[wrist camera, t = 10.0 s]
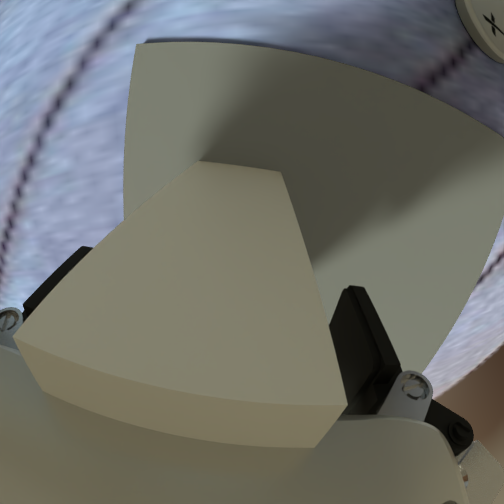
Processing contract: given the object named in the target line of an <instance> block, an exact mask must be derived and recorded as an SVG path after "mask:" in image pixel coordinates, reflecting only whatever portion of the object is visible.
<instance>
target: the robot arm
mask: <svg viewBox="0 0 504 504" xmlns="http://www.w3.org/2000/svg"><path fill="white" fill-rule="evenodd" d="M92 249H93V248H92V247H86V246H82V247H80V248H79V249H78V250H77V251H76V252H75V253H74V254H73V255H71V256H70V257H69V258H68V259H67V260H66V261H65V262H64V263H63V264H62V265H61V266H60V267H59V268H58V269H57V270H56V271H55V272H54V273H53V274H52V275H51V276H50V277H49V278H48V279H47V280H46V281H45V282H44V283H43V284H42V285H41V286H40V287H39V288H38V289H37V290H36V291H35V292H34V293H33V294H32V295H31V296H30V297H29V298H28V299H27V300H26V301H25V302H24V304H23V307H24V312H23V313H22V312H21V311H20V310H19V309H17V308H14V307H9V308H4V309H2V310H0V504H492V502H493V501H494V499H495V498H496V496H497V494H498V493H499V491H500V489H501V487H502V486H503V483H504V469H503V468H502V466H501V465H500V464H499V463H498V462H497V461H496V459H495V458H494V457H493V456H492V455H491V454H490V453H489V452H488V451H487V450H486V449H485V448H484V447H483V445H482V444H481V443H480V442H479V441H478V440H477V441H475V442H474V441H473V436H474V434H473V430H472V427H471V425H470V424H469V423H468V421H466V420H465V419H464V418H462V417H460V416H459V415H457V414H456V413H454V412H452V411H451V410H449V409H447V408H446V407H444V406H443V405H441V404H439V403H438V402H436V401H435V400H433V399H432V396H433V389H432V385H431V383H430V382H429V380H428V379H427V378H426V377H425V376H424V375H422V374H421V373H418V372H416V371H411V370H408V371H404V372H403V371H402V368H401V366H400V365H401V364H400V361H399V359H398V357H397V354H396V352H395V350H394V348H393V345H392V343H391V341H390V339H389V337H388V334H387V332H386V330H385V328H384V326H383V324H382V322H381V320H380V318H379V315H378V313H377V311H376V309H375V307H374V305H373V303H372V301H371V299H370V297H369V295H368V293H367V291H366V289H365V288H364V287H362V286H354V285H349V286H348V287H347V288H344V289H343V290H342V293H341V295H340V298H339V301H338V303H337V306H336V309H335V311H334V314H333V317H332V319H331V322H330V324H329V330H330V333H331V337H332V341H333V345H334V349H335V353H336V357H337V361H338V365H339V369H340V373H341V377H342V382H343V386H344V390H345V395H346V399H347V403H348V405H347V407H346V408H345V410H344V411H343V412H342V414H341V415H340V416H339V418H338V419H337V420H336V422H335V423H334V424H333V425H332V427H331V428H330V429H329V431H328V432H327V433H326V434H325V435H324V437H323V438H322V439H321V440H320V442H319V443H318V444H317V445H316V446H315V448H280V447H259V446H246V445H236V444H227V443H219V442H212V441H205V440H199V439H193V438H188V437H182V436H177V435H173V434H168V433H163V432H159V431H155V430H151V429H147V428H143V427H139V426H136V425H132V424H128V423H125V422H122V421H118V420H115V419H112V418H109V417H106V416H103V415H100V414H97V413H94V412H91V411H89V410H86V409H83V408H81V407H78V406H76V405H73V404H71V403H68V402H66V401H64V400H61V399H59V398H57V397H54V396H52V395H50V394H48V393H46V392H44V391H42V389H41V388H40V386H39V385H38V383H37V381H36V380H35V378H34V376H33V375H32V373H31V371H30V369H29V368H28V366H27V364H26V362H25V360H24V358H23V356H22V355H21V353H20V351H19V349H18V347H17V345H16V343H15V341H14V339H13V335H14V334H15V333H16V332H17V330H18V329H19V328H20V327H21V325H22V324H23V323H24V322H25V320H26V319H27V318H28V317H29V316H30V315H31V313H32V312H33V311H34V310H35V309H36V308H37V306H38V305H39V304H40V303H41V302H42V301H43V300H44V298H45V297H46V296H47V295H48V294H49V293H50V292H51V291H52V290H53V289H54V288H55V286H56V285H57V284H58V283H59V282H60V281H61V280H62V279H63V278H64V277H65V276H66V275H67V274H68V273H69V272H70V271H71V270H72V269H73V268H74V267H75V266H76V265H77V264H78V263H79V262H80V261H81V260H82V259H83V258H84V257H85V256H86V255H87V254H88V253H89V252H90V251H91V250H92Z"/></svg>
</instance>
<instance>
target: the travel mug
mask: <svg viewBox="0 0 504 504" xmlns="http://www.w3.org/2000/svg"><path fill="white" fill-rule="evenodd" d="M455 2H456V7H457V10H458V13H459V16H460V18H461V20H462V22H463V24H464V26H465V28H466V30H467V31H468V33H469V34H470V36H471V37H472V39H473V40H474V41H475V43H476V44H477V45H478V46H479V47H480V49H481V50H482V51H483V52H484V53H486V54H487V55H488V56H489V57H490V58H492V59H493V60H495V61H497V62H499V63H502V64H504V0H455Z"/></svg>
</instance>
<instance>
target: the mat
mask: <svg viewBox="0 0 504 504" xmlns="http://www.w3.org/2000/svg"><path fill="white" fill-rule="evenodd" d="M197 161H205V162H214V163H223V164H231V165H238V166H246V167H253V168H259V169H266V170H272V171H278V172H281V174H282V177H283V180H284V183H285V185H286V188H287V191H288V194H289V197H290V200H291V203H292V206H293V209H294V212H295V215H296V218H297V221H298V224H299V227H300V231H301V234H302V237H303V240H304V243H305V246H306V250H307V253H308V256H309V259H310V263H311V266H312V269H313V273H314V276H315V279H316V283H317V286H318V290H319V293H320V297H321V300H322V304H323V307H324V311H325V315H326V318H327V322H328V326H329V324H330V322H331V319H332V317H333V314H334V311H335V309H336V306H337V303H338V301H339V298H340V295H341V293H342V290H343V289H344V288H347V287H348V286H349V285H354V286H362V287H364V288H365V289H366V291H367V293H368V295H369V297H370V299H371V301H372V303H373V305H374V307H375V309H376V311H377V313H378V315H379V318H380V320H381V322H382V324H383V326H384V328H385V330H386V332H387V334H388V337H389V339H390V341H391V343H392V345H393V348H394V350H395V352H396V354H397V357H398V359H399V361H400V364H401V365H400V366H401V368H402V371H403V372H404V371H408V370H411V371H416V372H418V373H421V374H422V372H423V371H424V370H425V368H426V367H427V365H428V364H429V363H430V361H431V360H432V358H433V357H434V355H435V354H436V352H437V351H438V349H439V348H440V346H441V345H442V343H443V342H444V340H445V339H446V337H447V335H448V334H449V332H450V331H451V329H452V327H453V326H454V324H455V322H456V320H457V319H458V317H459V315H460V314H461V312H462V310H463V308H464V306H465V304H466V303H467V301H468V299H469V297H470V295H471V293H472V291H473V289H474V287H475V285H476V283H477V281H478V279H479V277H480V274H481V272H482V270H483V268H484V266H485V263H486V261H487V259H488V256H489V254H490V251H491V249H492V246H493V244H494V241H495V239H496V236H497V233H498V231H499V228H500V225H501V222H502V219H503V216H504V138H503V137H502V136H500V135H499V134H498V133H496V132H494V131H493V130H491V129H490V128H488V127H487V126H485V125H484V124H482V123H480V122H479V121H477V120H475V119H474V118H472V117H470V116H468V115H467V114H465V113H463V112H461V111H460V110H458V109H456V108H454V107H452V106H450V105H448V104H446V103H444V102H442V101H440V100H438V99H436V98H434V97H432V96H430V95H428V94H426V93H423V92H421V91H419V90H417V89H414V88H412V87H410V86H407V85H405V84H402V83H400V82H397V81H395V80H392V79H389V78H387V77H384V76H381V75H378V74H376V73H373V72H370V71H367V70H364V69H360V68H357V67H354V66H351V65H347V64H344V63H340V62H336V61H332V60H328V59H324V58H320V57H316V56H312V55H307V54H302V53H297V52H292V51H286V50H280V49H274V48H267V47H260V46H251V45H242V44H230V43H214V42H160V43H144V44H136V49H135V55H134V61H133V67H132V74H131V81H130V89H129V97H128V107H127V117H126V130H125V147H124V180H123V198H124V220H125V219H126V218H127V217H128V216H129V215H131V214H132V213H133V212H134V211H135V210H136V209H138V208H139V207H140V206H141V205H142V204H144V203H145V202H146V201H147V200H148V199H150V198H151V197H152V196H153V195H154V194H156V193H157V192H158V191H159V190H161V189H162V188H163V187H164V186H166V185H167V184H168V183H170V182H171V181H172V180H173V179H175V178H176V177H177V176H179V175H180V174H181V173H183V172H184V171H185V170H187V169H188V168H189V167H191V166H192V165H193V164H195V163H196V162H197Z"/></svg>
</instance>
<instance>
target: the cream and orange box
mask: <svg viewBox="0 0 504 504" xmlns="http://www.w3.org/2000/svg"><path fill="white" fill-rule="evenodd" d="M13 339H14V341H15V343H16V345H17V347H18V349H19V351H20V353H21V355H22V356H23V358H24V360H25V362H26V364H27V366H28V368H29V369H30V371H31V373H32V375H33V376H34V378H35V380H36V381H37V383H38V385H39V386H40V388H41V389H42V391H44V392H46V393H48V394H50V395H52V396H54V397H57V398H59V399H61V400H64V401H66V402H68V403H71V404H73V405H76V406H78V407H81V408H83V409H86V410H89V411H91V412H94V413H97V414H100V415H103V416H106V417H109V418H112V419H115V420H118V421H122V422H125V423H128V424H132V425H136V426H139V427H143V428H147V429H151V430H155V431H159V432H163V433H168V434H173V435H177V436H182V437H188V438H193V439H199V440H205V441H212V442H219V443H227V444H236V445H246V446H259V447H280V448H315V446H316V445H317V444H318V443H319V442H320V440H321V439H322V438H323V437H324V435H325V434H326V433H327V432H328V431H329V429H330V428H331V427H332V425H333V424H334V423H335V422H336V420H337V419H338V418H339V416H340V415H341V414H342V412H343V411H344V410H345V408H346V407H347V405H348V403H347V399H346V395H345V390H344V386H343V382H342V377H341V373H340V369H339V365H338V361H337V357H336V353H335V349H334V345H333V341H332V337H331V333H330V330H329V326H328V322H327V318H326V315H325V311H324V307H323V304H322V300H321V297H320V293H319V290H318V286H317V283H316V279H315V276H314V273H313V269H312V266H311V263H310V259H309V256H308V253H307V250H306V246H305V243H304V240H303V237H302V234H301V231H300V227H299V224H298V221H297V218H296V215H295V212H294V209H293V206H292V203H291V200H290V197H289V194H288V191H287V188H286V185H285V183H284V180H283V177H282V174H281V172H278V171H272V170H266V169H259V168H253V167H246V166H238V165H231V164H223V163H214V162H205V161H197V162H196V163H195V164H193V165H192V166H191V167H189V168H188V169H187V170H185V171H184V172H183V173H181V174H180V175H179V176H177V177H176V178H175V179H173V180H172V181H171V182H170V183H168V184H167V185H166V186H164V187H163V188H162V189H161V190H159V191H158V192H157V193H156V194H154V195H153V196H152V197H151V198H150V199H148V200H147V201H146V202H145V203H144V204H142V205H141V206H140V207H139V208H138V209H136V210H135V211H134V212H133V213H132V214H131V215H129V216H128V217H127V218H126V219H125V220H124V221H123V222H121V223H120V224H119V225H118V226H117V227H116V228H115V229H114V230H112V231H111V232H110V233H109V234H108V235H107V236H106V237H105V238H104V239H103V240H102V241H100V242H99V243H98V244H97V245H96V246H95V247H94V248H93V249H92V250H91V251H90V252H89V253H88V254H87V255H86V256H85V257H84V258H83V259H82V260H81V261H80V262H79V263H78V264H77V265H76V266H75V267H74V268H73V269H72V270H71V271H70V272H69V273H68V274H67V275H66V276H65V277H64V278H63V279H62V280H61V281H60V282H59V283H58V284H57V285H56V286H55V288H54V289H53V290H52V291H51V292H50V293H49V294H48V295H47V296H46V297H45V298H44V300H43V301H42V302H41V303H40V304H39V305H38V306H37V308H36V309H35V310H34V311H33V312H32V313H31V315H30V316H29V317H28V318H27V319H26V320H25V322H24V323H23V324H22V325H21V327H20V328H19V329H18V330H17V332H16V333H15V334H14V335H13Z"/></svg>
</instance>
